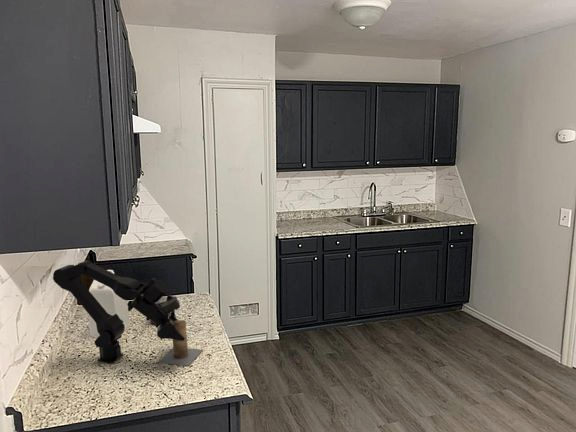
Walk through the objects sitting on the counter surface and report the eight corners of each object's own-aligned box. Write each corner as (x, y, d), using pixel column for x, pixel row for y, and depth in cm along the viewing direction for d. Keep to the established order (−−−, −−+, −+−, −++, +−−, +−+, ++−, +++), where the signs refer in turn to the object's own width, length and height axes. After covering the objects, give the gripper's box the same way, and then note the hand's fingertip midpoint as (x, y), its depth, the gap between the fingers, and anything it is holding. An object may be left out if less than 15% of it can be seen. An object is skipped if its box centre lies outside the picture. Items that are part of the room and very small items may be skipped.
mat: (157, 362, 159) (157, 362, 159) (173, 347, 171) (173, 347, 171) (189, 366, 156) (189, 365, 156) (203, 350, 168) (203, 349, 168)
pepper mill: (171, 358, 162) (168, 325, 160) (177, 352, 166) (175, 319, 165) (184, 359, 161) (181, 325, 159) (190, 353, 165) (188, 320, 164)
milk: (130, 325, 193) (125, 266, 189) (118, 336, 182) (112, 274, 178) (103, 324, 194) (98, 266, 190) (89, 336, 183) (83, 274, 179)
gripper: (165, 300, 149) (200, 327, 154) (165, 283, 167) (197, 308, 172) (142, 325, 149) (178, 352, 153) (144, 306, 167) (177, 330, 171)
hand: (183, 334), depth 163 cm, fingers open, 9 cm apart
